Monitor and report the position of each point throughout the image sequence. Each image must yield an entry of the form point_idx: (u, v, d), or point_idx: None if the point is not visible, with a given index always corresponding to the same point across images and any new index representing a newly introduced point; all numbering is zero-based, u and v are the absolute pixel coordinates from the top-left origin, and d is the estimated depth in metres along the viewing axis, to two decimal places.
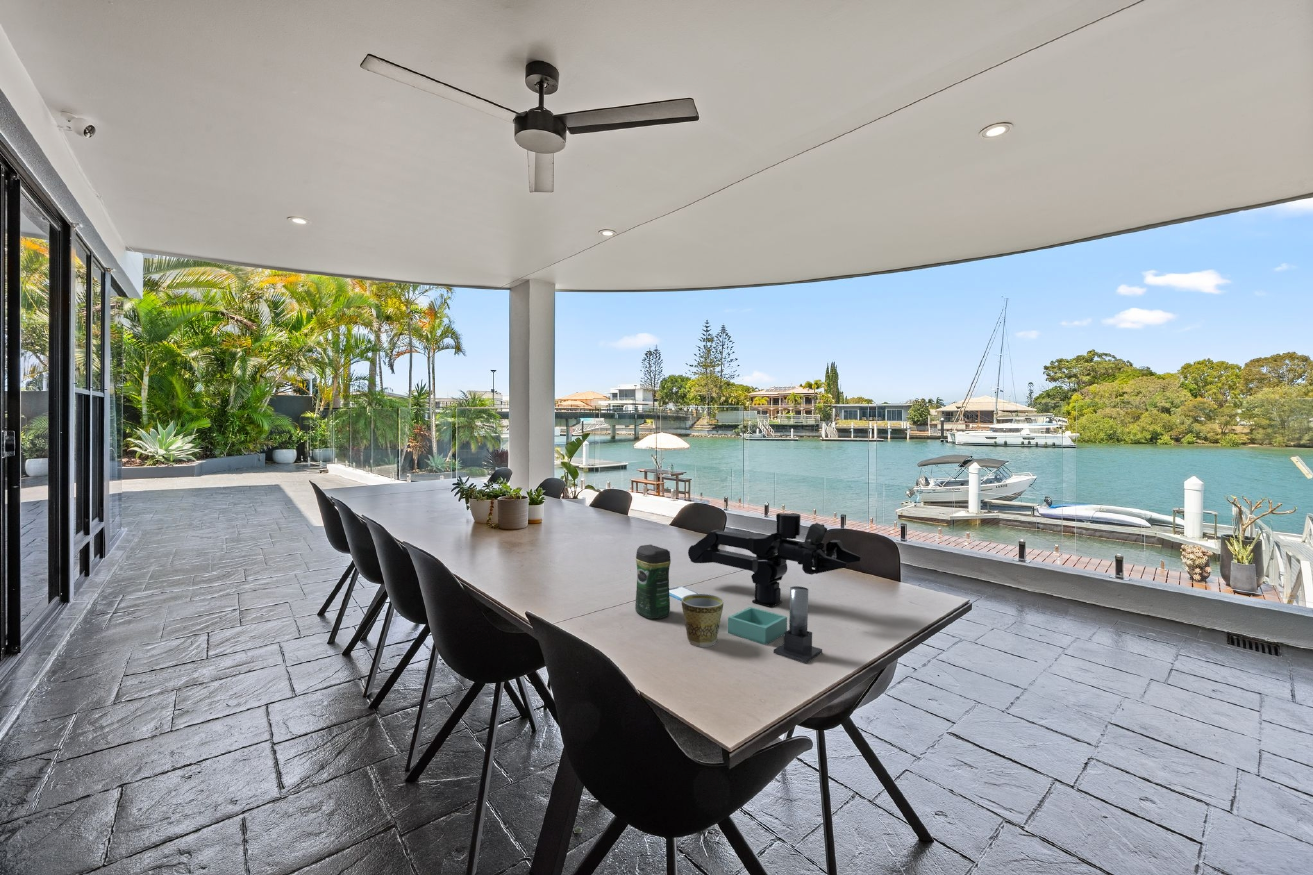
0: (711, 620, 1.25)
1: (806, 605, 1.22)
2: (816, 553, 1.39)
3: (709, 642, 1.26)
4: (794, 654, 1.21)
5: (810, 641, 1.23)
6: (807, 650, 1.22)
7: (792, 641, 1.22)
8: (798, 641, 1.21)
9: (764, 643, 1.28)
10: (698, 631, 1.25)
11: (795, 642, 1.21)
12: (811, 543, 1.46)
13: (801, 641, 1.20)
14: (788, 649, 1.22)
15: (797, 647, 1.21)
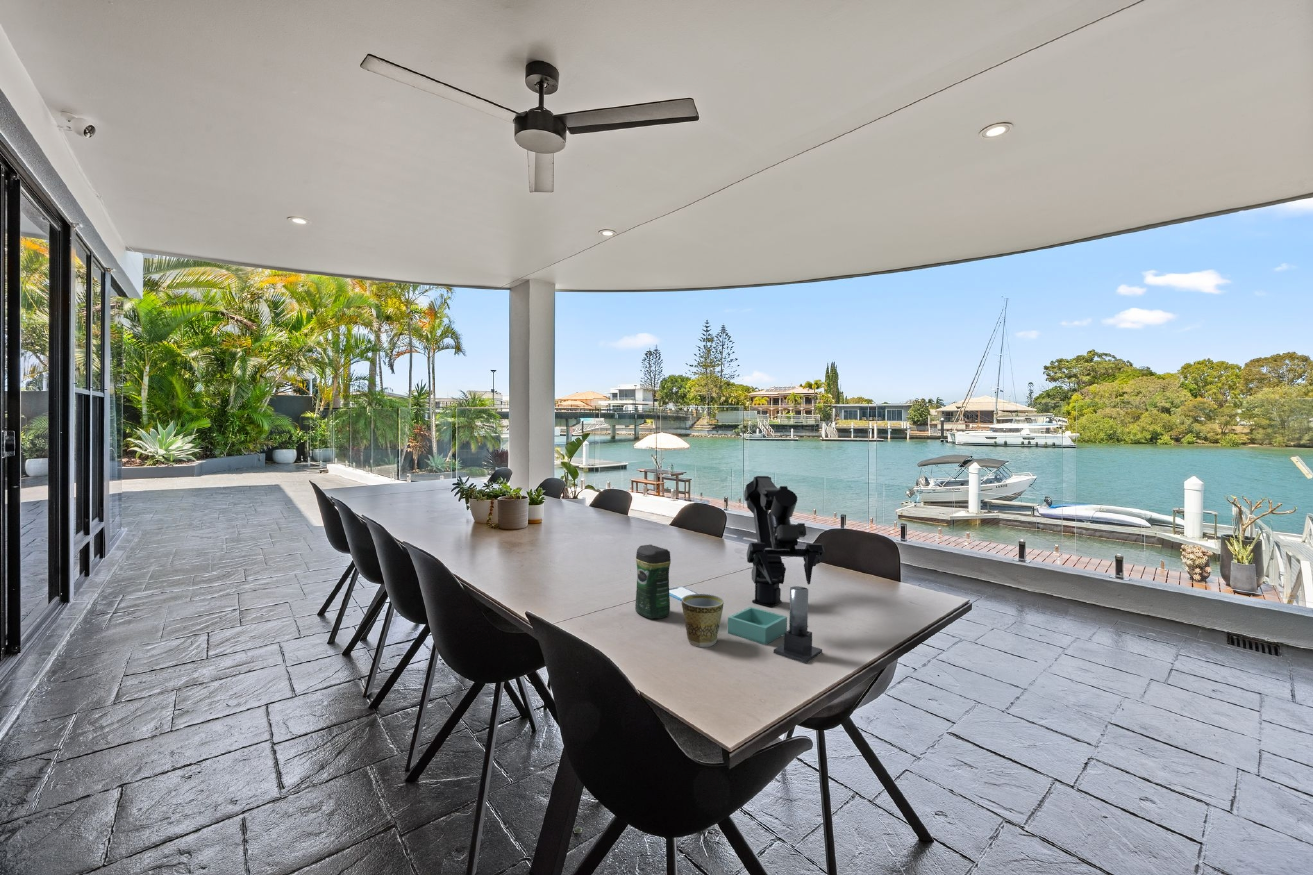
0: (711, 620, 1.25)
1: (806, 605, 1.22)
2: (755, 553, 1.34)
3: (709, 642, 1.26)
4: (794, 654, 1.21)
5: (810, 641, 1.23)
6: (807, 650, 1.22)
7: (792, 641, 1.22)
8: (798, 641, 1.21)
9: (764, 643, 1.28)
10: (698, 631, 1.25)
11: (795, 642, 1.21)
12: (776, 537, 1.36)
13: (801, 641, 1.20)
14: (788, 649, 1.22)
15: (797, 647, 1.21)
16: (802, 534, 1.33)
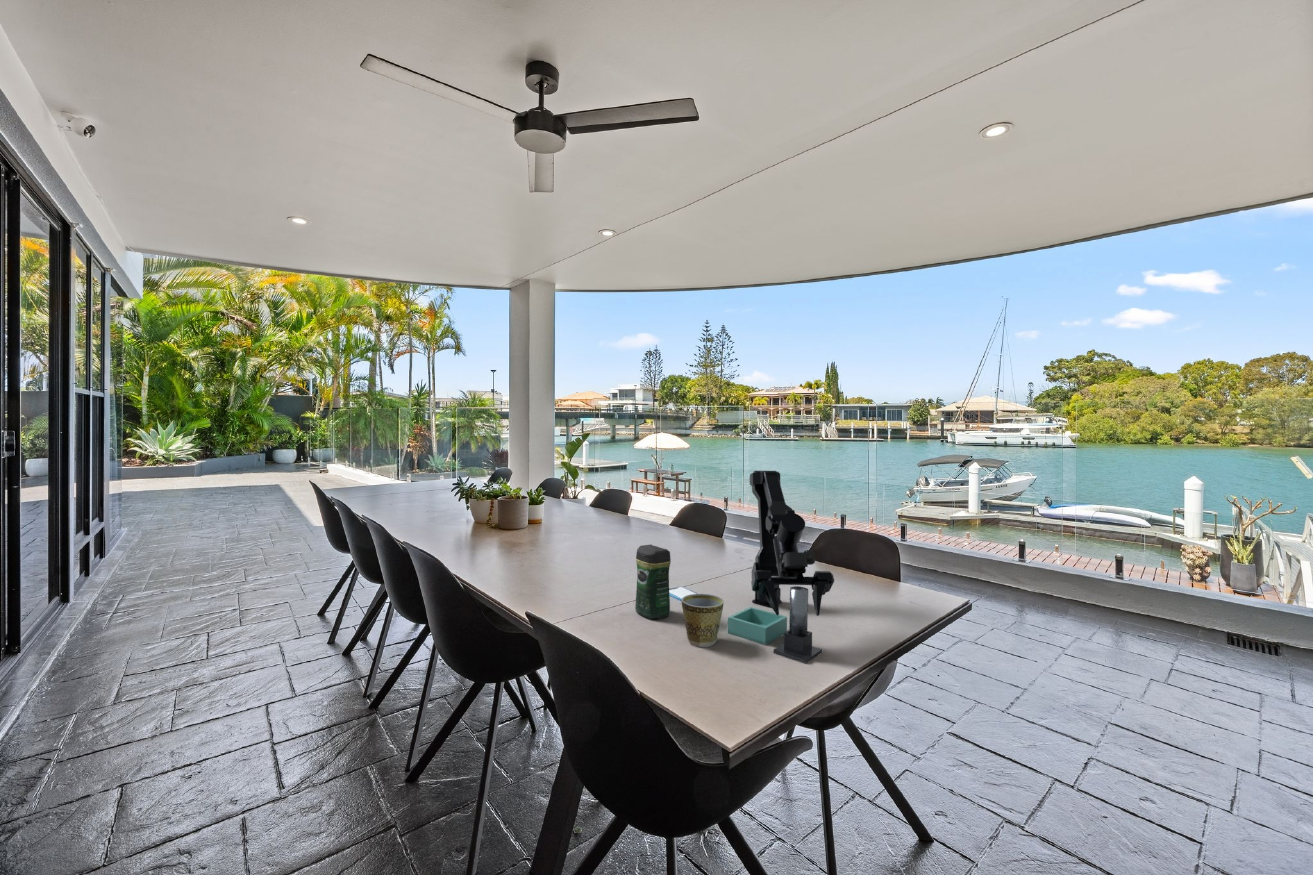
0: (711, 620, 1.25)
1: (806, 605, 1.22)
2: (761, 582, 1.27)
3: (709, 642, 1.26)
4: (794, 654, 1.21)
5: (810, 641, 1.23)
6: (807, 650, 1.22)
7: (792, 641, 1.22)
8: (798, 641, 1.21)
9: (764, 643, 1.28)
10: (698, 631, 1.25)
11: (795, 642, 1.21)
12: (782, 565, 1.29)
13: (801, 641, 1.20)
14: (788, 649, 1.22)
15: (797, 647, 1.21)
16: (810, 562, 1.26)
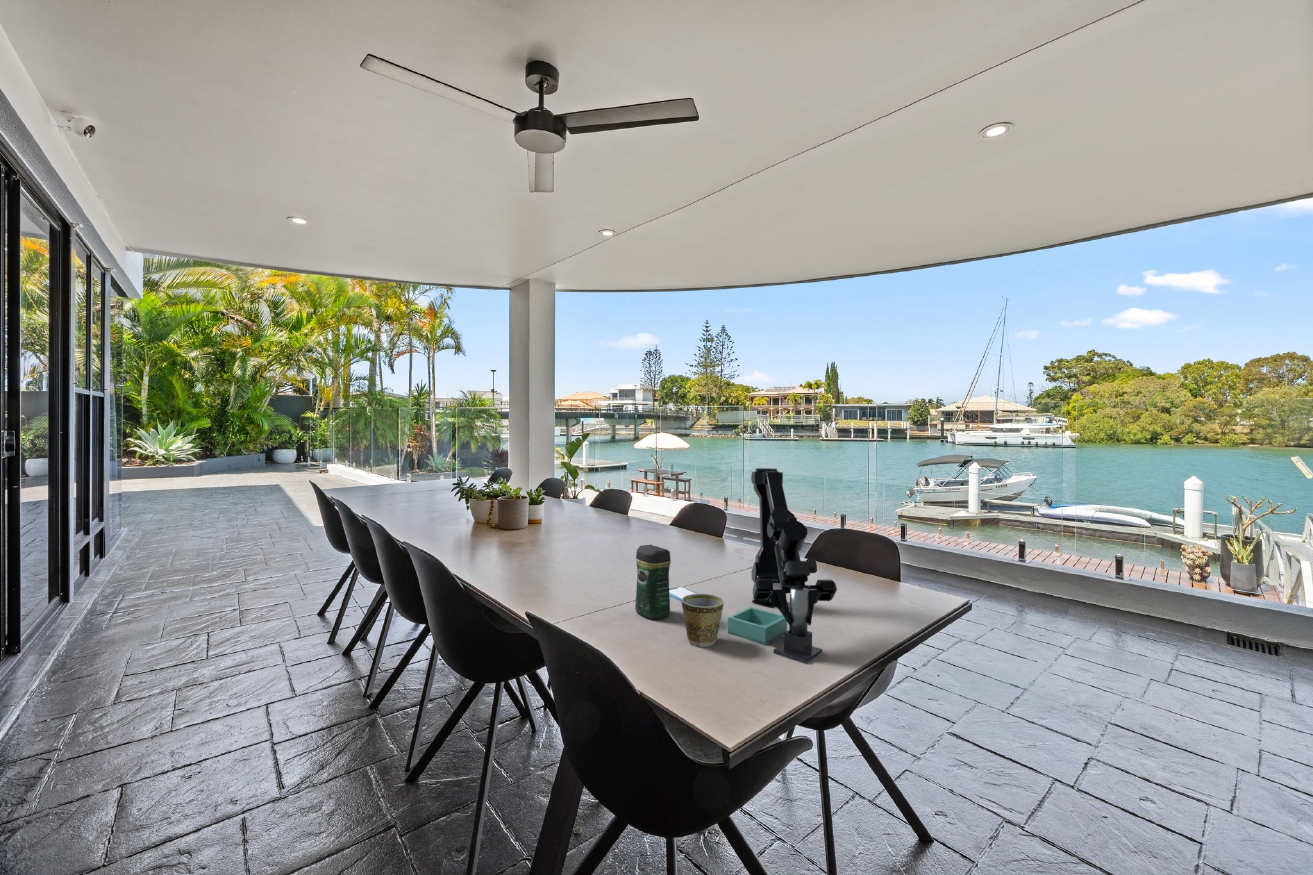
0: (711, 620, 1.25)
1: (806, 605, 1.22)
2: (773, 591, 1.25)
3: (709, 642, 1.26)
4: (794, 654, 1.21)
5: (810, 641, 1.23)
6: (807, 650, 1.22)
7: (792, 641, 1.22)
8: (798, 641, 1.21)
9: (764, 643, 1.28)
10: (698, 631, 1.25)
11: (795, 642, 1.21)
12: (784, 573, 1.27)
13: (801, 641, 1.20)
14: (788, 649, 1.22)
15: (797, 647, 1.21)
16: (813, 571, 1.24)
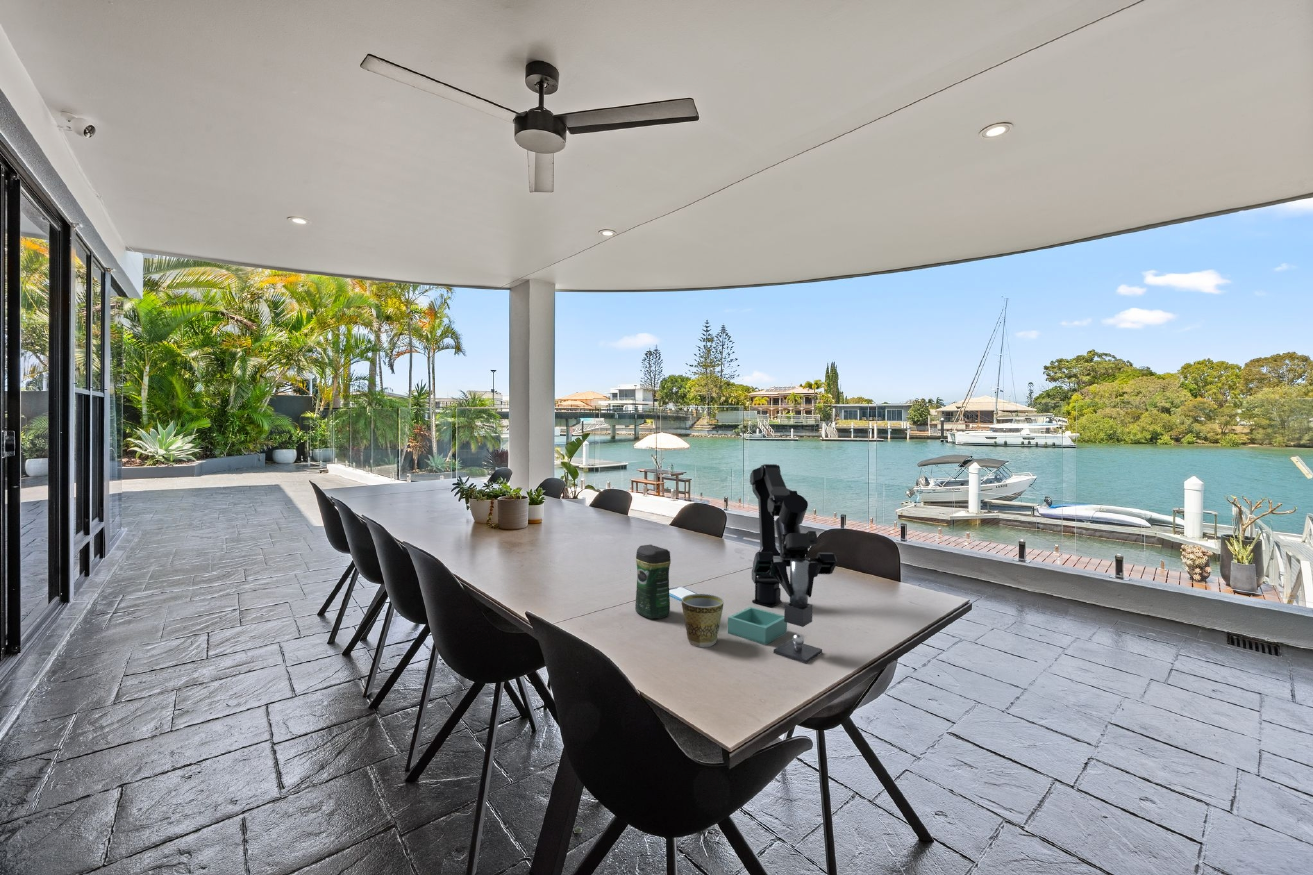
0: (711, 620, 1.25)
1: (806, 577, 1.22)
2: (773, 564, 1.25)
3: (709, 642, 1.26)
4: (794, 654, 1.21)
5: (810, 613, 1.23)
6: (807, 622, 1.22)
7: (792, 613, 1.22)
8: (798, 612, 1.21)
9: (764, 643, 1.28)
10: (698, 631, 1.25)
11: (795, 614, 1.21)
12: (784, 546, 1.26)
13: (801, 613, 1.20)
14: (788, 621, 1.22)
15: (797, 619, 1.21)
16: (813, 543, 1.24)
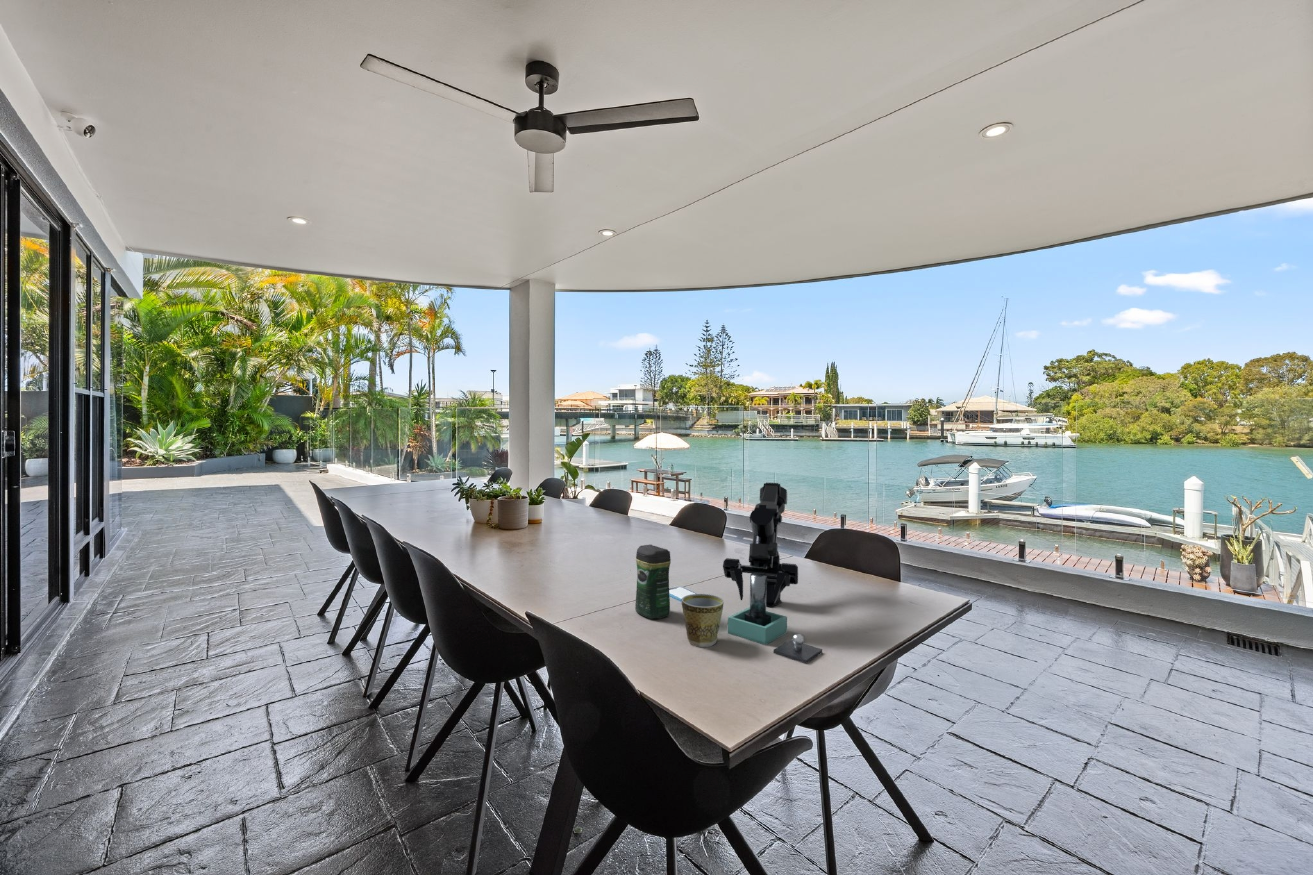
0: (711, 620, 1.25)
1: (763, 590, 1.33)
2: (730, 569, 1.38)
3: (709, 642, 1.26)
4: (794, 654, 1.21)
5: None
6: None
7: None
8: (753, 621, 1.33)
9: (764, 643, 1.28)
10: (698, 631, 1.25)
11: None
12: None
13: (756, 622, 1.32)
14: None
15: None
16: (772, 553, 1.34)
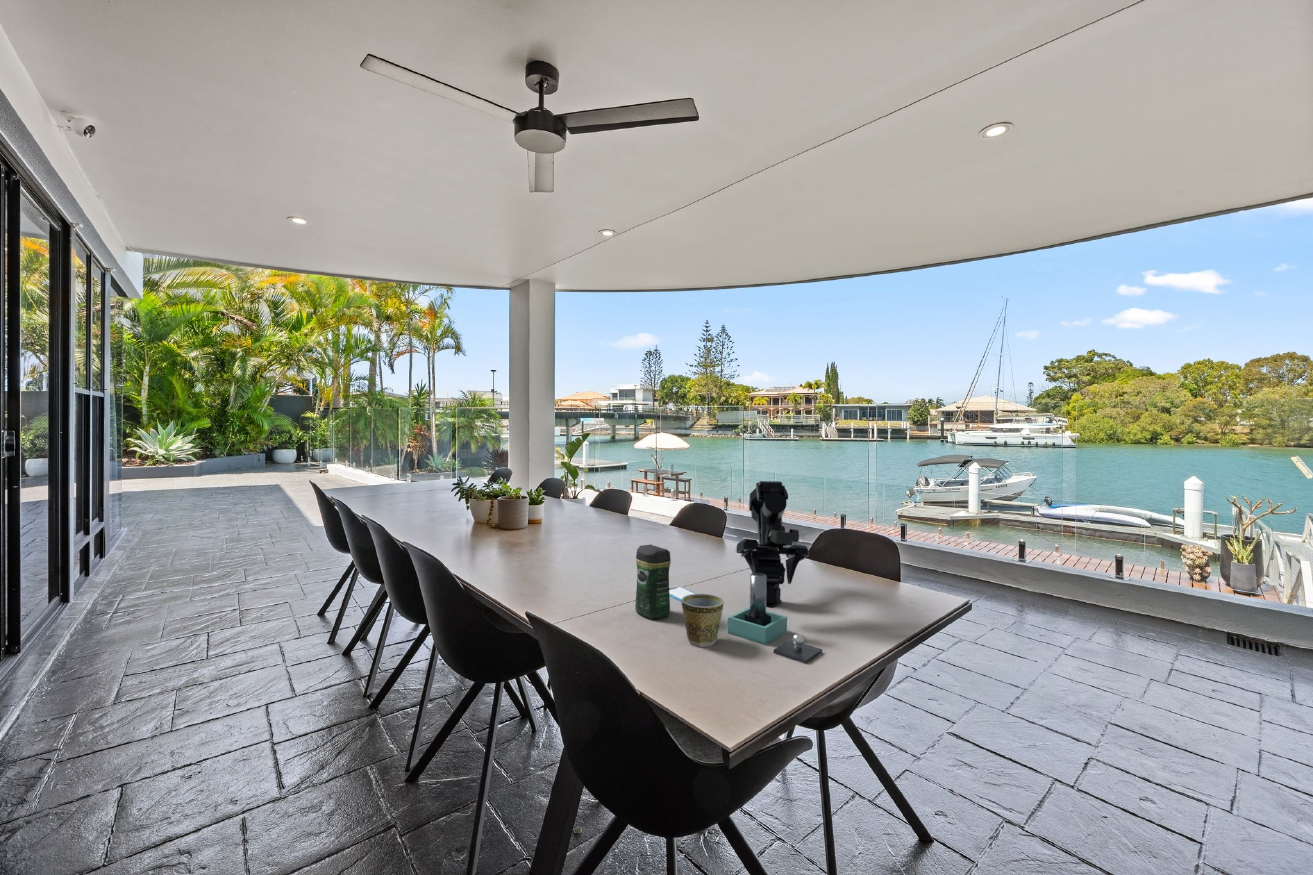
0: (711, 620, 1.25)
1: (763, 590, 1.33)
2: (748, 551, 1.42)
3: (709, 642, 1.26)
4: (794, 654, 1.21)
5: None
6: None
7: None
8: (753, 621, 1.33)
9: (764, 643, 1.28)
10: (698, 631, 1.25)
11: None
12: (768, 537, 1.43)
13: (756, 622, 1.32)
14: None
15: None
16: (794, 541, 1.41)
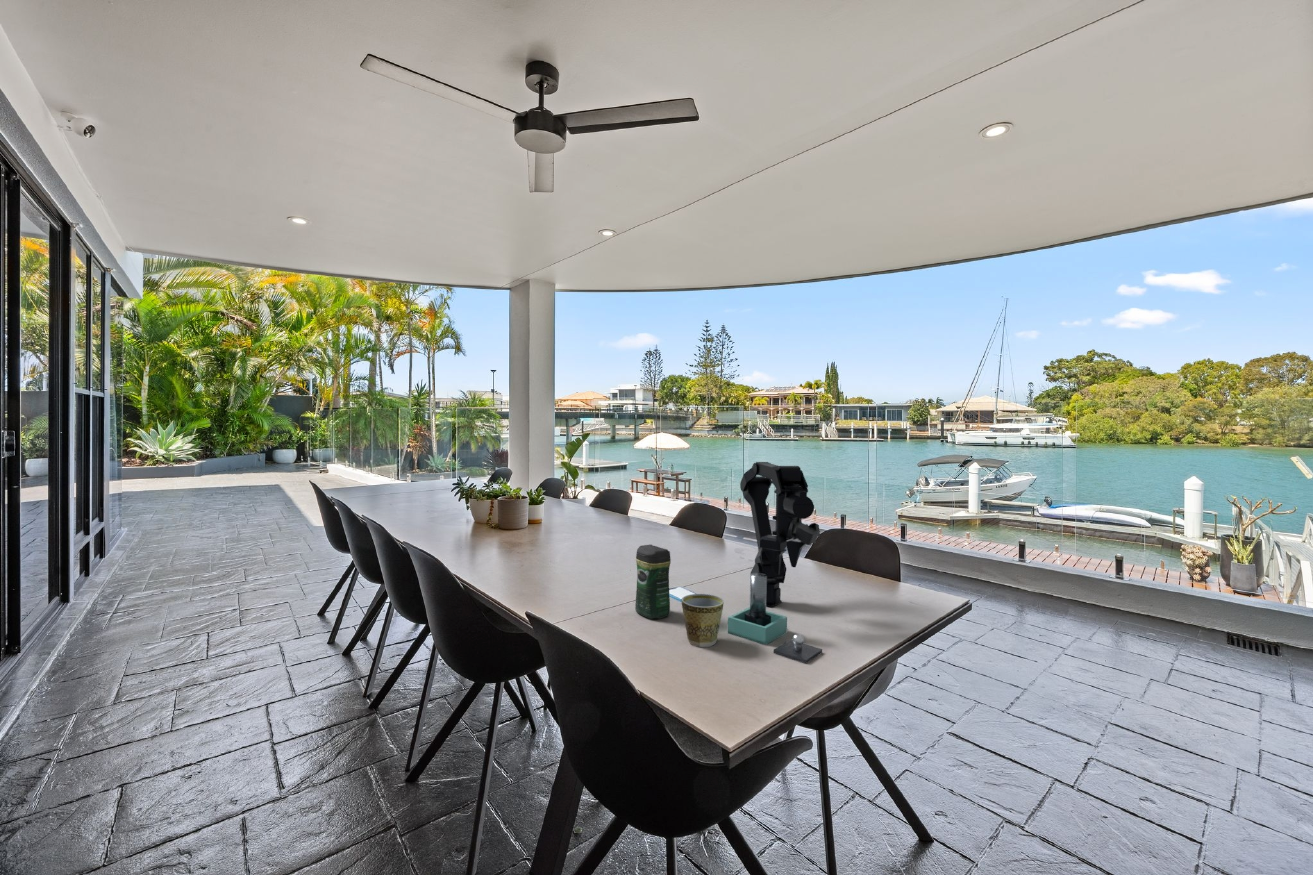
0: (711, 620, 1.25)
1: (763, 590, 1.33)
2: (779, 552, 1.37)
3: (709, 642, 1.26)
4: (794, 654, 1.21)
5: None
6: None
7: None
8: (753, 621, 1.33)
9: (764, 643, 1.28)
10: (698, 631, 1.25)
11: None
12: (793, 534, 1.41)
13: (756, 622, 1.32)
14: None
15: None
16: None
